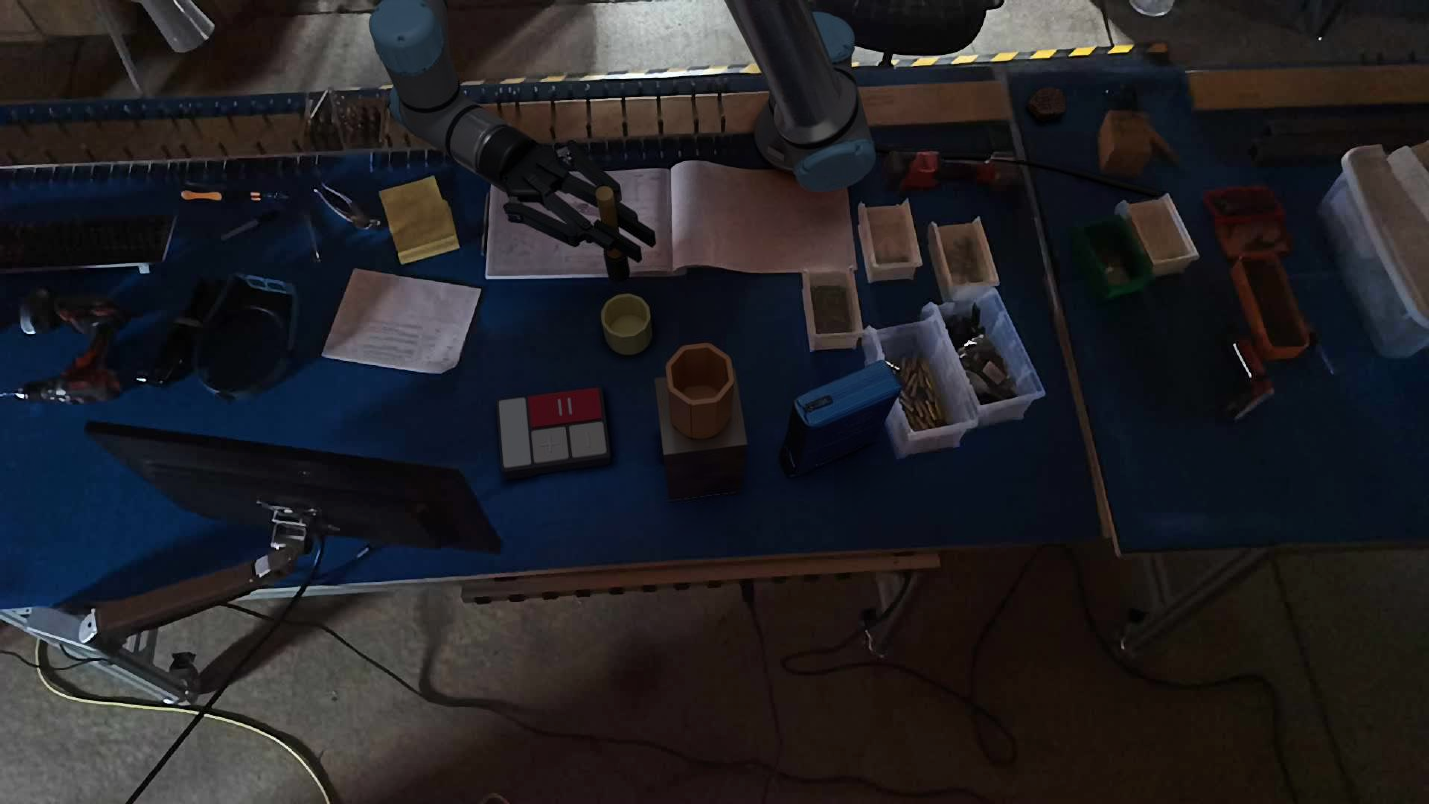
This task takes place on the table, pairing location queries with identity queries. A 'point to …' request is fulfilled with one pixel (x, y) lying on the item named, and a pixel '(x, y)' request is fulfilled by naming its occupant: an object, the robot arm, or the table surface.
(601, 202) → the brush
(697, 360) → the octagonal pencil cup
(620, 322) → the rinse cup
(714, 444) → the stand
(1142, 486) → the table surface
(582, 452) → the button panel
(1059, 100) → the stone
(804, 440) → the book
